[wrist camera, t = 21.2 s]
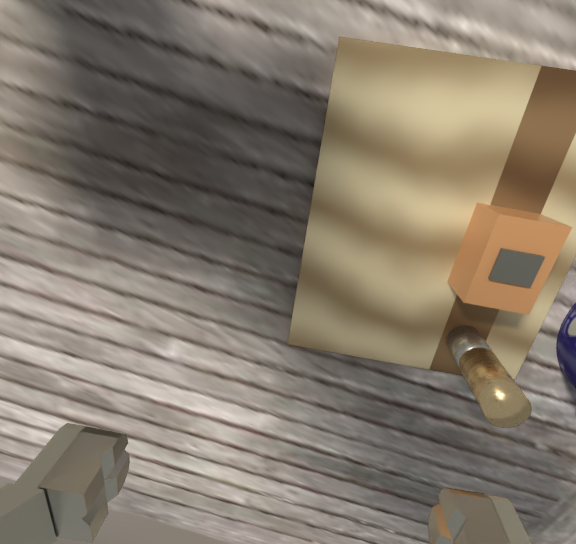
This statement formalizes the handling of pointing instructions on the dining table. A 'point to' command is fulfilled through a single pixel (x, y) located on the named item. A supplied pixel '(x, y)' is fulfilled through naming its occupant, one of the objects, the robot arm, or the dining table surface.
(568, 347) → the dog bowl
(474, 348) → the amber glass vial
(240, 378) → the dining table surface
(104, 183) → the dining table surface
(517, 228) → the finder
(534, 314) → the panel
